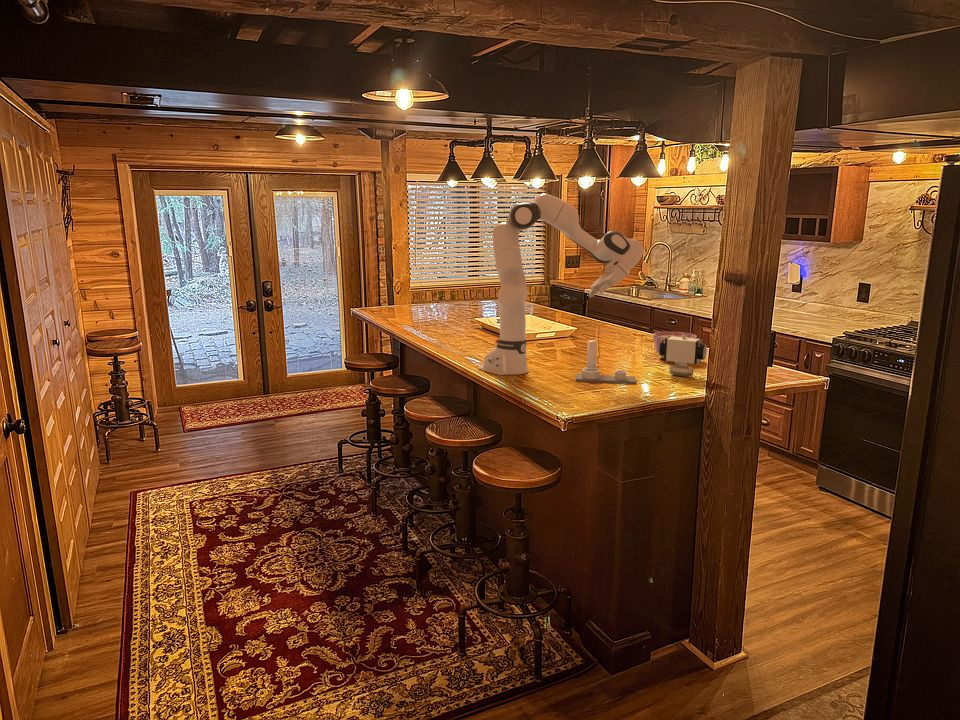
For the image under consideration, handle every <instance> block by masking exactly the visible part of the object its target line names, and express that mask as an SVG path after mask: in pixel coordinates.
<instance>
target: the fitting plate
mask: <svg viewBox="0 0 960 720" xmlns="http://www.w3.org/2000/svg"><path fill="white" fill-rule="evenodd" d="M581 371H582V373H576V375H575V382H581V381H585V383H602V382H609V383H608V384H623V383H626V384H629V385H636V383H637V382H636V376H630V375H628V376H627V371H626V370H623V369H616V370H614V375H612V374H611V375H607V374H606V375H605V374H601V369H599V368H597V367H596V368H587V367H586V368H582V370H581Z"/></svg>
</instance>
